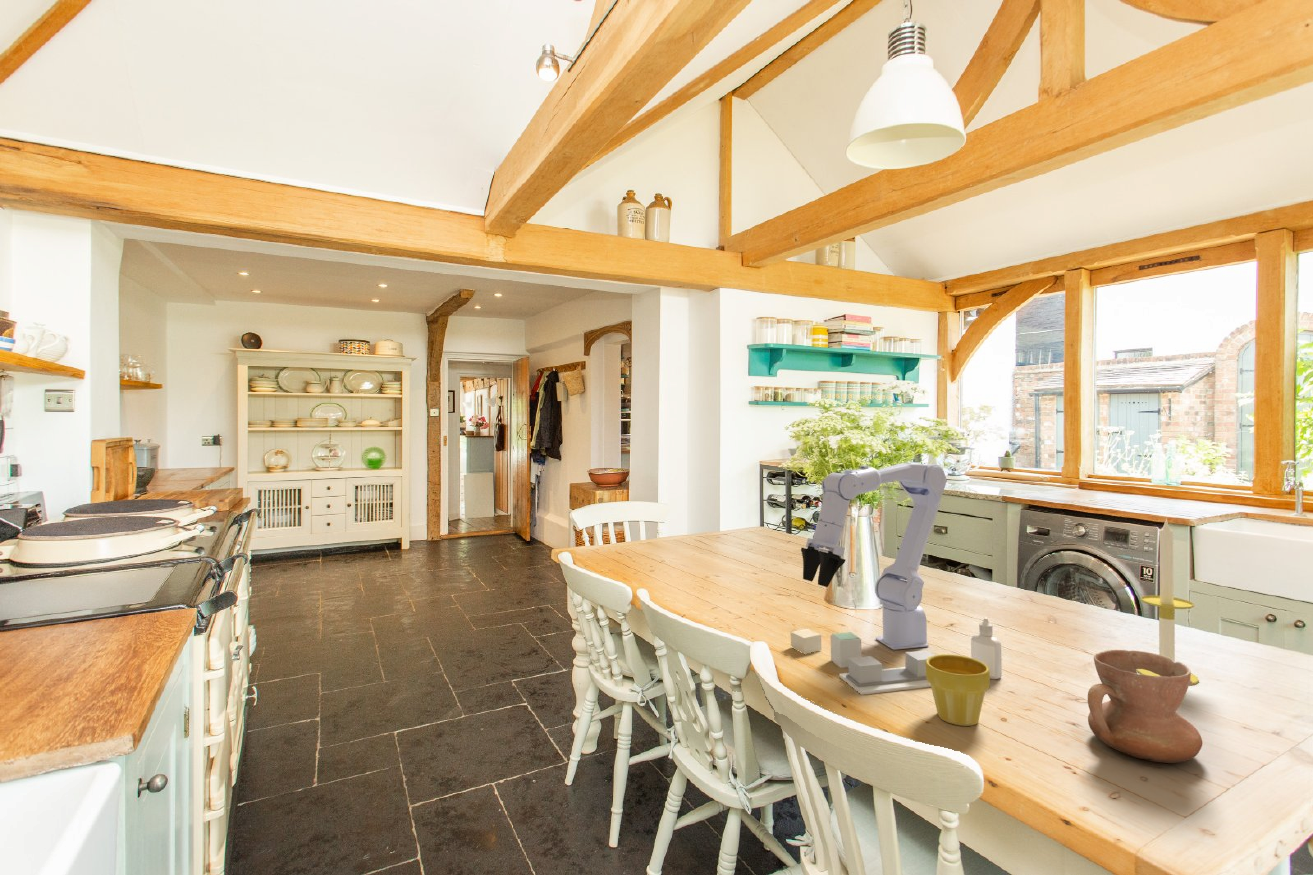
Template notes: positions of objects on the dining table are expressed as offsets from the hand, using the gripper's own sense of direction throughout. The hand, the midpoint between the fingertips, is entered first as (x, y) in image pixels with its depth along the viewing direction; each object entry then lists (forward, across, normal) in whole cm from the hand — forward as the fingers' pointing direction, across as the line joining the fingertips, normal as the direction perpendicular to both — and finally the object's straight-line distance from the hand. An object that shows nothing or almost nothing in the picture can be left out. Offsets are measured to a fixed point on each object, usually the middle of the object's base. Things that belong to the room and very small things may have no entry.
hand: (814, 583), depth 139 cm
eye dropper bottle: (+8, +14, +36) cm, 39 cm away
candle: (-3, +23, +69) cm, 73 cm away
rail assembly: (+14, +12, +17) cm, 25 cm away
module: (+15, 0, +12) cm, 19 cm away
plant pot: (+15, +28, +19) cm, 37 cm away
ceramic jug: (+10, +44, +39) cm, 60 cm away
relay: (+16, -10, +7) cm, 20 cm away
